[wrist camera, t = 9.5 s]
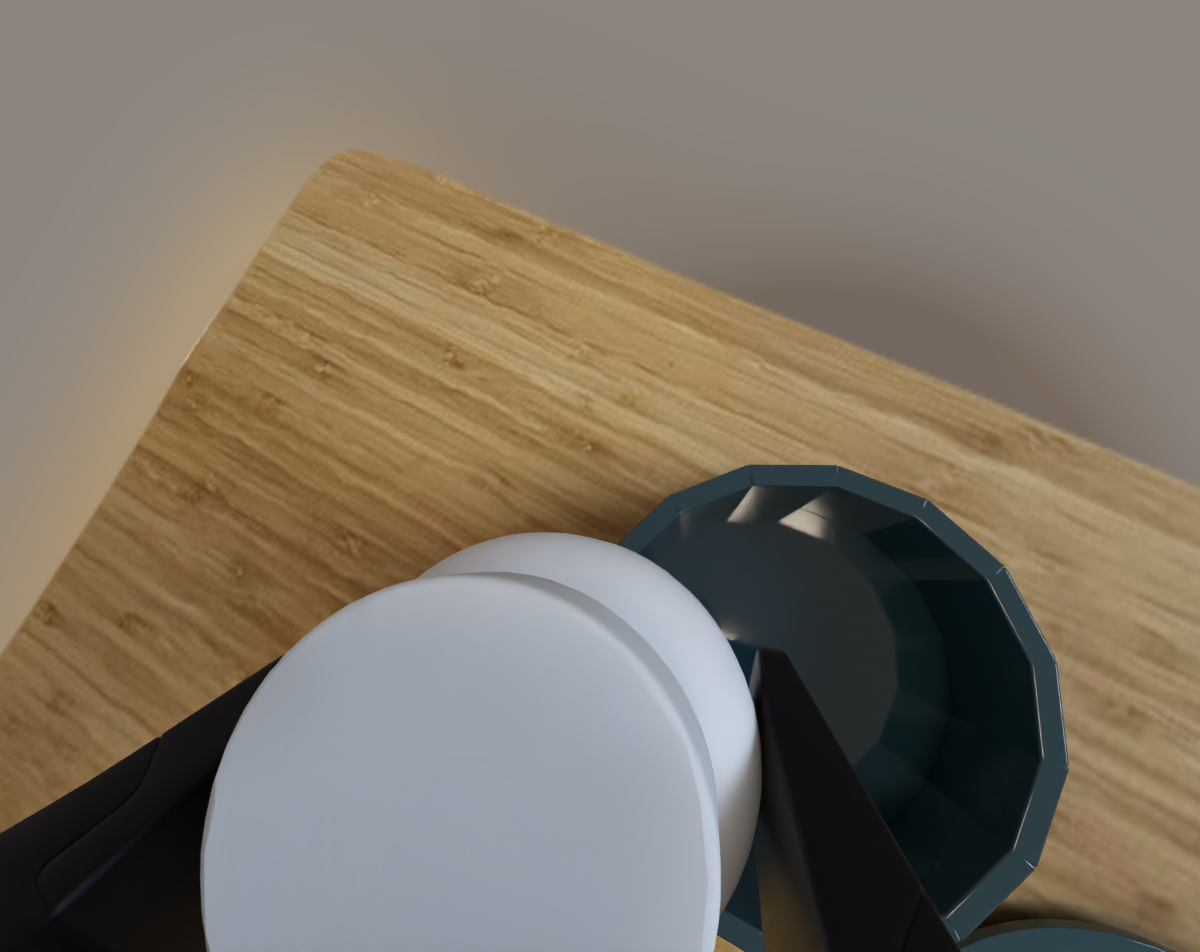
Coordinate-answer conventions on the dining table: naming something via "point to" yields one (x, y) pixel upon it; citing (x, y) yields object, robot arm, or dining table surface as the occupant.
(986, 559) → the pot
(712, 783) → the pill bottle
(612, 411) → the dining table surface
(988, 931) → the lid
